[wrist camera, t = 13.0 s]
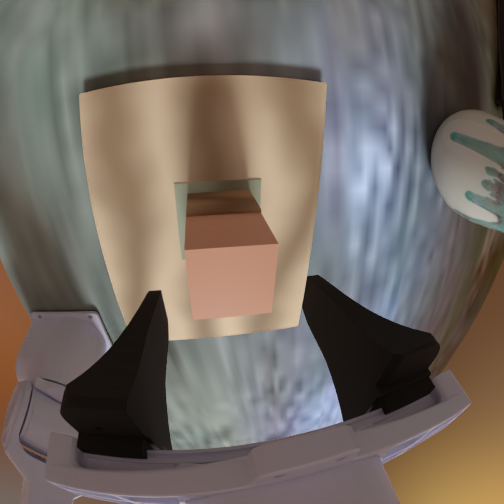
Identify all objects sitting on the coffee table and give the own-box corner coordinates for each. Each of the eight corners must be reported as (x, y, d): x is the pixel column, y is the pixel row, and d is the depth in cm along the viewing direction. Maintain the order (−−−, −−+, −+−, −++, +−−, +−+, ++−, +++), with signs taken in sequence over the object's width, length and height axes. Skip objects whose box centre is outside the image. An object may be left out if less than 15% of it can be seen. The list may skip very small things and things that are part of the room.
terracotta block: (191, 279, 18) (193, 320, 15) (186, 216, 16) (184, 250, 13) (257, 273, 19) (271, 312, 16) (261, 212, 17) (278, 243, 14)
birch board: (133, 335, 27) (132, 342, 26) (84, 94, 15) (78, 94, 14) (295, 319, 30) (298, 326, 29) (321, 83, 18) (327, 83, 17)
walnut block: (192, 248, 22) (192, 277, 18) (187, 193, 19) (186, 214, 16) (248, 243, 23) (259, 271, 19) (249, 189, 20) (261, 209, 17)
